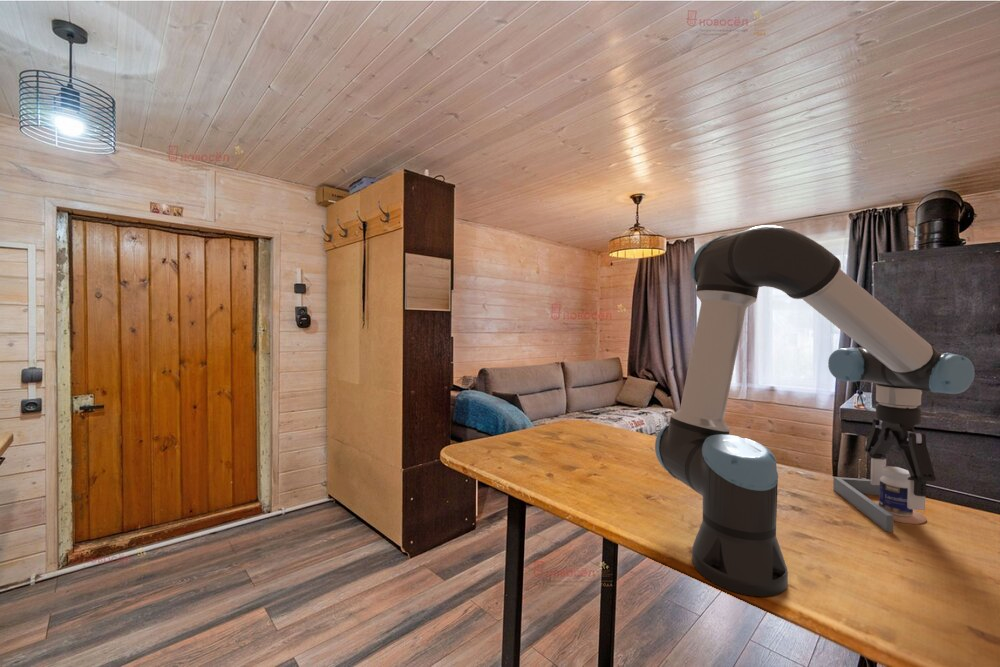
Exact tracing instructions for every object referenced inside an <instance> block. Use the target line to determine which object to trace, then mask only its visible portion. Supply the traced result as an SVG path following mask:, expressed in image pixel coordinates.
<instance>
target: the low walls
mask: <svg viewBox="0 0 1000 667" xmlns="http://www.w3.org/2000/svg"><path fill="white" fill-rule="evenodd" d="M832 481H833V486H832V487H833V491H834V492H836V494H838V495H839V496H840V497H842V498H843V499H844V500H846V501H847V502H848V503H849V504H851V505H852V506H853V507H854V508H856V510H859V512H861V513H862V514H863V515H865V516H866V517H867V518H868V519H870V520H871V521H873V523H875V524H876V525H877V526H878V527H880V528H881V529H882V530H884V531H885V532H889V533H894V521H893V515H891V514H890V513H889V512H887V511H886V510H884V509H883V508H882V507H880V506H879V505H877V504H876V503H875V502H876V501H873V500H871V499H870V498H869V497H867V496H866V495H870V496H873V495H874V496H879V489H880V485H872V484H871V478H870V479H868V478H857V477H856V478H855V477H854V478H853V477H852V478H851V477H840V476H833V480H832Z"/></svg>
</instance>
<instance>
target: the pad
mask: <svg viewBox="0 0 1000 667" xmlns="http://www.w3.org/2000/svg"><path fill="white" fill-rule="evenodd" d="M874 502H875V503H876V504H877V505H879V501H874ZM891 515H892V514H891ZM893 522H898V523H902V524H903V523H904V524H910V525H920V524H925V523H926V522H927V517H926V516H925V515H924V514H922V513H921V512H919V511H918V510H915V509H913V514H912V516H910V517H902V516H896V515H893Z"/></svg>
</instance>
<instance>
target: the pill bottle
mask: <svg viewBox="0 0 1000 667" xmlns="http://www.w3.org/2000/svg"><path fill="white" fill-rule="evenodd" d="M883 473H884V476H882V477H881V478H880V489H879V495H878V502H879V506H880V507H882V508H883V509H884V510H886V511H887V512H889V513H890V514H892V515H896V516H902V517H910V516H912V514H913V510H914V509H909V508H907V497H908V478H909V477H910V473H909V471H908V469H904V468H902V467H899V466H892V465H891V466H890V465H886V466H885V467H883Z"/></svg>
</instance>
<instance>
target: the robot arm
mask: <svg viewBox="0 0 1000 667" xmlns="http://www.w3.org/2000/svg"><path fill="white" fill-rule="evenodd" d="M841 268H842V262H841V260H840V259H839V258H838V257H837V256H836V255H835V254H833V253H832V252H831V251H830V250H828V249H827V248H825V247H824V246H823V245H822V244H820V243H819V242H817V241H815V240H813V239H812V238H810V237H808V236H807V235H804V234H802V233H801V232H799V231H796V230H792V229H790V228H788V227H784V226H780V225H772V224H771V225H769V224H767V225H758V226H754V227H751V228H749V229H745V230H741V231H738V232H735V233H734V232H733V233H731V234H726V235H721V236H718V237H716V238H713V239H712V240H710V241H707V242H705V243H704V244H703V245H701V246H700V247H699V248H698V249H697V250H696V252H695V254H694V255H693V257H692V259H691V263H690V275H691V279H693V283H694V284H695V286H696V290H695V296H696V297H697V298H698V299H699V301H700V308H699V313H698V318H697V321H696V322H697V323H696V326H695V333H694V336H693V337H694V338H693V342H692V343H693V344H692V346H691V352H690V356H689V362H688V367H687V373H686V377H685V381H684V387H683V391H682V397H681V403H680V407H679V409H678V410H676V411H675V412H673V413H671V415H670V418H669V423H667V424H665V426H664V427H663V428H661V429H660V430H659V431H658V433H657V435H656V438H655V443H654V451H655V455H656V459H657V460H658V462H659V465H661V467H662V468H663V469H664V470H665V471H666V472H667V473H668V474H669V475H671V477H673V478H674V479H676V480H678V481H680V482H681V483H683V484H684V485H685V486H688V488H690V489H692V490H693V491H695V492H697V494H699V495H700V496H701V497H702V522H701V523H700V526H699V529H698V532H697V534H696V537H695V539H694V541H693V544H692V547H691V548H692V550H691V552H692V553H691V558H692V559H691V561H692V565H693V566H694V568H695V569H696V570H697V571H698V573H699V574H700V575H701V576H703V578H705V579H707V580H708V581H710V582H711V583H713V584H714V585H717V586H718V587H720V588H723V589H726V590H728V591H730V592H734V593H736V594H741V595H745V596H746V595H747V596H751V597H765V598H766V597H773V596H776V595H780V594H782V593H783V592H785V591H786V589H787V587H788V585H789V584H788V583H789V581H788V580H789V578H788V576H789V572H788V567H787V565H786V562H785V558H784V556H783V552H782V550H781V547H780V544H779V541H778V538H777V512H778V510H777V509H778V507H777V506H778V483H779V480H778V479H779V473H778V471H777V459H776V457H775V454H774V453H773V452H772V450H770V449H769V448H768V447H766V446H765V445H763V444H761V443H760V442H758V441H755V440H754V439H750V438H745V437H744V438H743V437H740V436H738V435H733V434H730V431H731V429H730V427H729V425H727V423H726V421H725V414H726V408H727V406H728V405H727V404H728V399H729V394H730V388H731V385H732V379H733V375H734V369H735V366H736V365H735V364H736V360H737V355H738V349H739V343H740V341H741V340H740V339H741V334H742V331H743V325H744V321H745V316H746V311H747V308H748V307H749V306H751V305H753V304H754V303H756V302H757V300H758V299H757V298H758V294H759V288H762V287H767V288H773V289H777V290H779V291H782V292H783V293H785V295H787V296H788V297H790V298H791V299H793V300H803V301H804V302H806V304H808V305H809V307H811V308H813V309H814V310H815V311H816V312H817V313H819V314H820V315H821V316H823V317H824V318H825V319H826V320H828V321H829V322H830V323H832V324H833V326H835V327H837V328H838V329H839V330H840V331H841V332H843V333H844V334H845V335H847V337H849V338H850V339H851V340H853V341H854V342H855V343H857V344H858V345H859V347H851V346H850V347H849V346H848V347H845V348H842V347H841V348H839V349H835V350H833V352H832V353H831V354H830V355H829V357H828V366H827V367H828V370H829V372H830V374H831V375H832V376H833V377H834V378H835V379H837V380H839V381H841V382H852V383H856V382H866V383H873V384H875V401H876V402H877V403H876V404H875V418H873V419H872V427H871V429H870V433H869V434H868V435H869V436H868V438H867V442H866V444H865V447H864V451H865V453H868V455H869V457H870V480H871V484H872V485H880V478H881V477H882V476H884V473H883V467H885V466H887V458H888V457H887V453H888V452H889V451H890V450H891V448H892V446H895V449H897V451H900V454H901V456H902V459H903V460H904V463H905V466H906V468H907V469H906V470H908V471H909V473H910V477H909V478H908V497H907V508H909V509H913V510H915V511H926V495H927V493H926V492H927V483H928V482H932V483H935V482H936V481H937V479H936V475H935V471H934V469H933V463H932V460H931V458H930V454H929V450H928V446H927V436H926V433H920V432H918V433H917V432H915V427H914V426H917V425H920V424H921V423H922V408H920V407H919V406H921V405H922V395H923V391H925V392H931V393H933V394H950V395H957V394H958V395H959V394H961V393H964V392H965V391H967V390H968V389H969V388H970V387H971V385H972V383H973V382H974V380H975V372H976V371H975V367H974V364H973V362H972V361H971V359H969V358H968V357H966V356H964V355H961V354H955V353H952V352H944V353H943V352H940V351H939V350H937V349H936V348H935V347H934V346H932V345H931V344H930V343H929V342H928V341H927V340H925V338H923V337H922V336H921V335H919V334H918V333H917V332H916V331H915V330H914V329H912V328H911V327H910V326H908V324H906V323H905V322H904V321H903V320H902V319H900V318H899V317H898V316H897V315H896V314H894V313H893V312H892V311H891V310H890V309H888V307H886V306H885V305H884V304H883V303H881V302H880V301H879V300H878V299H877V298H876V297H874V296H873V295H871V293H869V292H868V291H867V290H866V289H865V288H863V287H862V286H861V285H859V283H857V282H856V280H854V279H853V278H851V277H850V276H849V275H848V274H847V273H846V272H845V271H843V270H842V269H841Z"/></svg>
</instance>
